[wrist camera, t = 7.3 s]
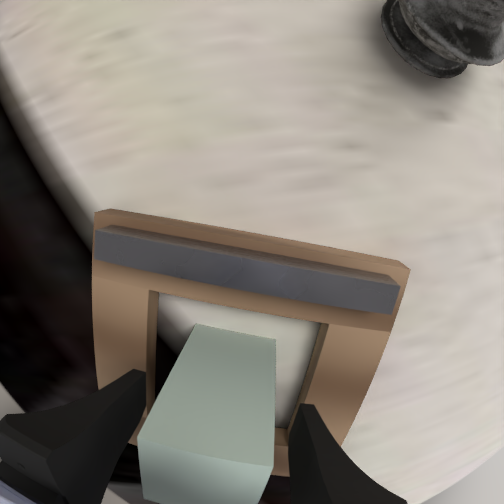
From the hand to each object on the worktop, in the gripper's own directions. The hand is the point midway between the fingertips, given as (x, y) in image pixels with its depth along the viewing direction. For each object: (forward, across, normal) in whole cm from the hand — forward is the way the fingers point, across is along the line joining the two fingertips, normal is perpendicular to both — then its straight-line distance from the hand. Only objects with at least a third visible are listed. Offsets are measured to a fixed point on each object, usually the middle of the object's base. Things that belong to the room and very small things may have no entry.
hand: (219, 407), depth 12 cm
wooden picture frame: (+3, 0, 0) cm, 3 cm away
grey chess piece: (+4, -7, -19) cm, 21 cm away
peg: (+3, 0, 0) cm, 3 cm away
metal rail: (+2, 0, -6) cm, 6 cm away
